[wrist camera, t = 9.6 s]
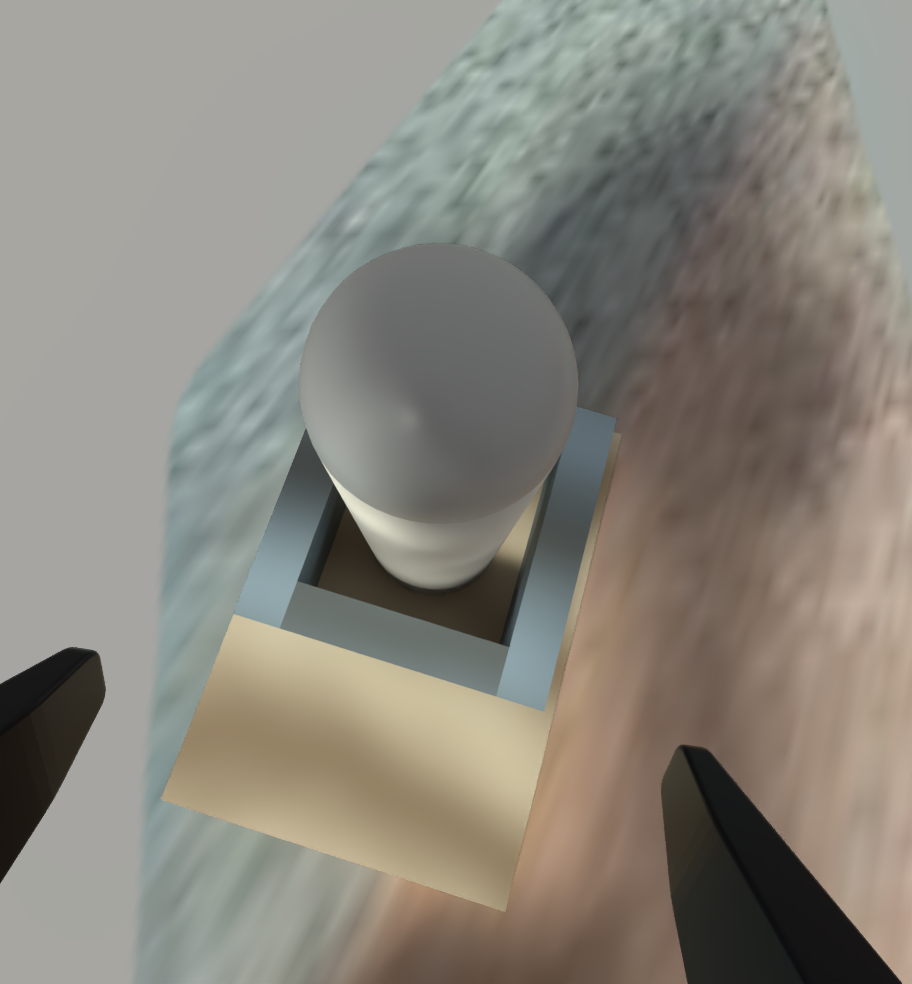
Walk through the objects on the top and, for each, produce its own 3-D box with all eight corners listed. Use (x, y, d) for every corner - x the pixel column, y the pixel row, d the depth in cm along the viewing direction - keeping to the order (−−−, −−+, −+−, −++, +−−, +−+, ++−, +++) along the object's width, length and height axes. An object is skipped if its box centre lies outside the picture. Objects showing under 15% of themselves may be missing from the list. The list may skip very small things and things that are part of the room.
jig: (500, 897, 20) (519, 957, 16) (176, 791, 20) (113, 823, 16) (613, 445, 24) (650, 401, 20) (342, 364, 25) (325, 305, 20)
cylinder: (509, 581, 21) (653, 452, 8) (382, 606, 21) (290, 516, 7) (484, 460, 22) (568, 154, 9) (361, 482, 22) (248, 197, 8)
